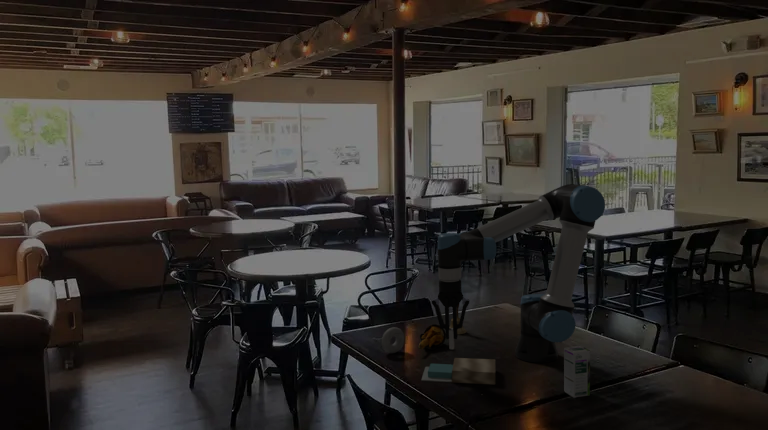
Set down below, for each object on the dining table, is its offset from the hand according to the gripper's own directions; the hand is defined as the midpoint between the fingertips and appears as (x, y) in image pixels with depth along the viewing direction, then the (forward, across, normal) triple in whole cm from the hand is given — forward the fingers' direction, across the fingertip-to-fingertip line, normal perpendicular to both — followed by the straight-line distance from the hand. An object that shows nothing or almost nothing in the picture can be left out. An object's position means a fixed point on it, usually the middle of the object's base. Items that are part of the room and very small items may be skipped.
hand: (451, 348), depth 214 cm
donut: (+9, +24, -21) cm, 33 cm away
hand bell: (+10, +2, -52) cm, 53 cm away
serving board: (+10, -7, 0) cm, 12 cm away
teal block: (+9, +4, 0) cm, 10 cm away
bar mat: (+9, +5, 0) cm, 11 cm away
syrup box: (+11, -39, +11) cm, 42 cm away
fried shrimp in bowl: (+10, +11, -28) cm, 31 cm away
